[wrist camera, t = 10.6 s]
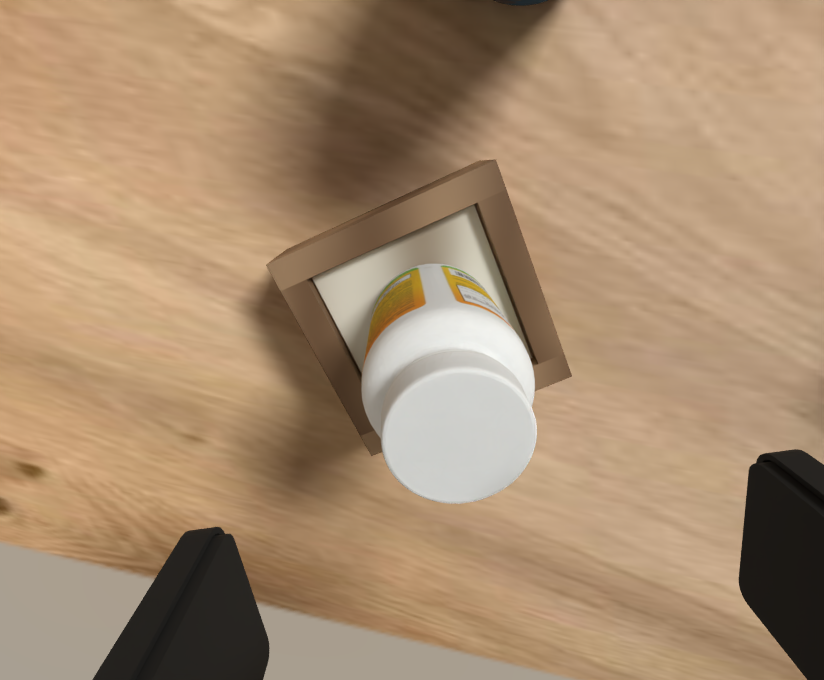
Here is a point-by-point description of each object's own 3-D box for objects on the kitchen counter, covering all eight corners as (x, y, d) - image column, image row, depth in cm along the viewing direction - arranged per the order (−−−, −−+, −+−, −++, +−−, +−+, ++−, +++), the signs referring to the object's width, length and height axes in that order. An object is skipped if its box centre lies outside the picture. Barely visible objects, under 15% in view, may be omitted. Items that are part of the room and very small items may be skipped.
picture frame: (479, 160, 22) (495, 159, 18) (547, 346, 25) (572, 376, 22) (286, 249, 23) (266, 265, 19) (374, 416, 26) (371, 455, 23)
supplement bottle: (377, 381, 22) (363, 535, 13) (365, 266, 20) (338, 350, 11) (493, 372, 22) (562, 520, 13) (492, 256, 20) (571, 332, 11)
